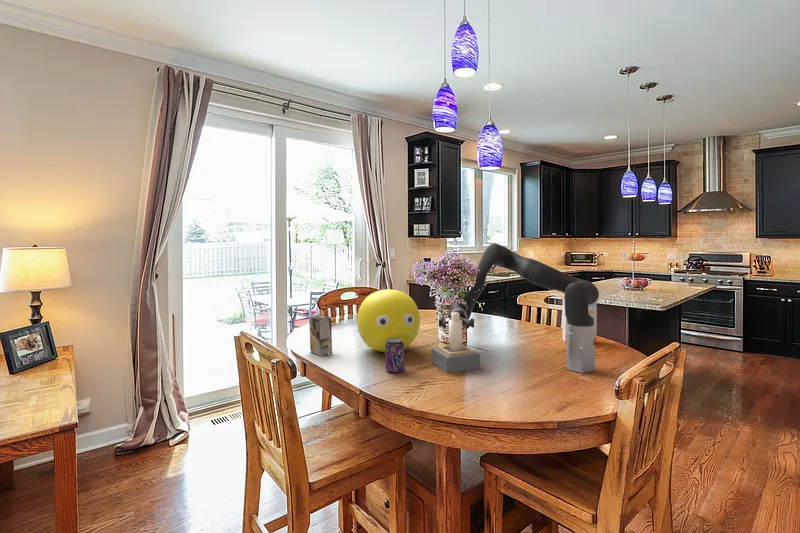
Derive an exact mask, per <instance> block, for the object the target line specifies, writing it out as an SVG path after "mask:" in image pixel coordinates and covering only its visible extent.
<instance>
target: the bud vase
mask: <svg viewBox="0 0 800 533" xmlns="http://www.w3.org/2000/svg"><path fill="white" fill-rule="evenodd" d="M448 345H449V352H459V351H462V345H463V328H462V320H460V314H459V313H458V312H452V313H451V320H449V327H448Z"/></svg>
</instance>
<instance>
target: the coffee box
mask: <svg viewBox="0 0 800 533" xmlns="http://www.w3.org/2000/svg"><path fill="white" fill-rule="evenodd" d="M308 321H309V325H308V326H309V345H310V346H309V347H310V351H311V352H313V353H312V354H314V353H316V354H318V355H317V356H319V355H324V354H328V353H332V354H333V336H332V335H333V334H332V333H333V332H332V317H329V316H326V315H321V314H319V315H313V316H309V317H308ZM311 352H310V353H311ZM316 354H315V355H316ZM328 355H329V354H328ZM324 356H325V355H324Z"/></svg>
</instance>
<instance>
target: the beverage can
mask: <svg viewBox="0 0 800 533" xmlns="http://www.w3.org/2000/svg"><path fill="white" fill-rule="evenodd" d="M386 341H387V342H386V344H385V352H384V354H385V355H384V356H385V359H384V360H385V371H387V372H389V373H391V372H398V373H401V372H403V371H404V370H405V348H404V344H403V342H402V341H403V340H402V339H400V338H389V339H387V340H386Z"/></svg>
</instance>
